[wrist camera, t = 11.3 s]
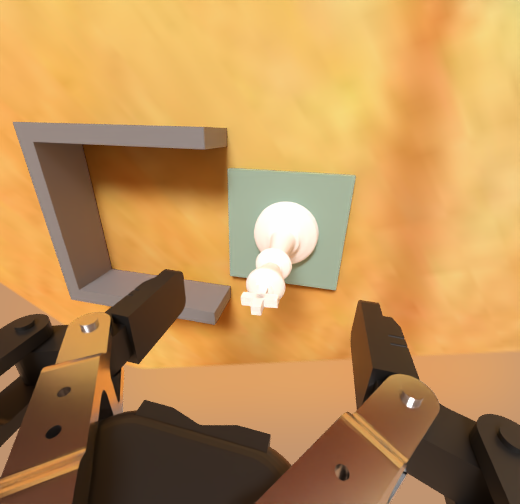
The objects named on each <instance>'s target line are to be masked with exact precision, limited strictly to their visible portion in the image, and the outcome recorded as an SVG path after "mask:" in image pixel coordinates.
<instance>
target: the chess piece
mask: <svg viewBox="0 0 520 504" xmlns="http://www.w3.org/2000/svg"><path fill="white" fill-rule="evenodd" d="M318 236H319V230H318V225H317V222H316V220H315V218H314V216H313V215H312V214H311V213H310V212H309V211H308V210H307V209H306V208H305V207H303V206H301V205H299V204H297V203H293V202H278V203H274V204H272V205H270V206H268V207H267V208H265V209H264V210H263V211H262V212H261V214H260V215H259V217H258V219H257V221H256V224H255V228H254V238H255V242H256V245H257V247H258V249H259V250H260V252H261V253H260V254H259V255H258V256H257V259H256V269H255V270H253V271H252V272H251V273H250V274H249V276H248V277H247V280H246V288H247V291H248V292H243V294H242V296H241V304H242V305H247V306H251V315H261V314H262V311H263V308H264V307H270V308H278V305H279V300H280V299H281V298H282V296H283V295H284V293H285V281H284V279H285V278H286V277H288V275H289V274H290V272H291V270H292V264H295V263H298V262H301V261H303V260H304V259H306V258H307V257H308V256H309V255H310V254H311V253H312V251H313V250H314V248H315V246H316V244H317V241H318Z"/></svg>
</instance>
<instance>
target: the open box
mask: <svg viewBox="0 0 520 504" xmlns="http://www.w3.org/2000/svg"><path fill="white" fill-rule="evenodd" d="M13 125H14V128H15V131H16V134H17V137H18V140H19V143H20V146H21V149H22V152H23V155H24V158H25V161H26V164H27V167H28V170H29V173H30V176H31V179H32V182H33V185H34V188H35V191H36V194H37V197H38V200H39V203H40V206H41V209H42V212H43V215H44V218H45V221H46V224H47V227H48V230H49V233H50V236H51V239H52V242H53V246H54V249H55V252H56V255H57V258H58V261H59V264H60V267H61V270H62V273H63V276H64V279H65V282H66V285H67V288H68V291H69V294H70V297H71V299H72V300H78V301H83V302H89V303H95V304H100V305H106V306H114V305H115V304H116V303H117V302H119V301H120V300H121V299H122V298H124V297H125V296H126V295H128V294H129V293H130V292H131V291H133V290H135V288H136V287H138V286H139V285H140V284H141V283H143V282H145V281H147V280H149V279H152V278H155V277H156V275H149V274H143V273H136V272H129V271H122V270H115V269H112V267H111V263H110V259H109V255H108V251H107V246H106V242H105V238H104V234H103V230H102V225H101V221H100V217H99V213H98V209H97V205H96V200H95V196H94V192H93V188H92V184H91V179H90V175H89V171H88V167H87V163H86V158H85V154H84V150H83V146H82V144H93V145H116V146H139V147H161V148H184V149H212V148H219V147H227V128H211V127H181V126H144V125H107V124H70V123H33V122H13ZM184 286H185V296H186V303H185V307H184V309H183V311H182V313H181V314H180V315H179V316H178V317H177V318H179V319H185V320H191V321H196V322H202V323H207V324H213V325H215V324H216V322H217V321H218V319H219V317H220V315H221V314H222V312H223V310H224V308H225V307H226V305H227V303H228V301H229V299H230V298H231V286H225V285H218V284H211V283H204V282H197V281H190V280H184Z"/></svg>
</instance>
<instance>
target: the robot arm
mask: <svg viewBox="0 0 520 504" xmlns="http://www.w3.org/2000/svg"><path fill="white" fill-rule="evenodd" d="M185 303H186V296H185V286H184V277H183V273H182V272H180V271H174V270H168V269H165V270H163V271H162V272H161V273H160V274H159V275H157V276H156V277H155V278H152V279H149V280H147V281H145V282H143V283H141V284H140V285H139V286H138V287H136V288H135V290H133V291H131V292H130V293H129V294H128V295H126V296H125V297H124V298H122V299H121V300H120V301H119V302H117V303H116V304H115V305H114V306H112V307H111V308H110V309H109V310H107V311H106V312H105V313H103V312H95V313H90V314H86V315H83V316H81V317H79V318H77V319H76V320H74V321H73V322H72V323H70V325H58V326H52V325H51V323H50V320H49V317H48V316H47V315H44V314H34V315H28V316H25V317H22V318H19V319H17V320H15V321H13V322H11V323H9V324H7V325H6V326H4V327H3V328H1V329H0V376H1V375H2V374H3V373H5V372H6V371H7V370H9V369H10V368H11V367H12V366H14V365H15V366H16V368H17V370H18V372H19V374H20V377H18V378H17V379H16V380H15V381H14V382H12V383H11V384H10V385H9V386H8V387H6V388H5V389H4V390H3V391H2V392H0V447H1V445H3V444H4V443H5V442H6V440H8V439H9V438H10V437H11V436H12V435H13V433H14V432H16V431H17V429H19V431H18V434H17V436H16V439H15V442H14V444H13V447H12V449H11V452H10V455H9V457H8V460H7V462H6V465H5V468H4V470H3V473H2V476H1V477H0V504H390V503H391V502H392V500H393V498H394V496H395V495H396V493H397V492H398V490H399V488H400V487H401V485H402V483H403V482H404V480H405V479H406V477H407V475H408V474H410V475H412V476H413V477H415V478H416V479H418V480H420V481H421V482H423V483H425V484H426V485H428V486H430V487H431V488H433V489H434V490H436V491H438V492H439V493H441V494H443V495H444V497H445V500H446V504H520V425H518V424H517V423H515V422H513V421H511V420H509V419H507V418H505V417H502V416H498V415H493V414H485V415H482V416H480V417H479V419H478V420H477V422H475V421H473V420H471V419H469V418H467V417H465V416H463V415H460V414H458V413H456V412H454V411H451V410H450V409H448V408H446V407H444V406H443V405H441V404H440V403H439V401H438V399H437V397H436V395H435V394H434V393H433V391H432V390H431V389H430V388H429V387H428V386H427V385H426V384H424V383H423V382H421V381H420V380H419V377H418V374H417V371H416V369H415V366H414V363H413V360H412V357H411V355H410V352H409V349H408V348H407V344H406V341H405V339H404V335H403V333H402V330H401V327H400V326H399V325H398V324H397V323H396V322H395V321H394V320H393V319H392V318H391V317H385V316H383V315H382V312H381V308H380V305H379V303H375V302H369V301H362V300H359V301H358V304H357V309H356V313H355V318H354V322H353V326H352V331H351V353H352V363H353V373H354V384H355V394H356V404H357V411H356V412H355V413H354V414H350V413H349V412H346V413H344V414H343V415H342V416H340V417H339V418H338V420H336V421H335V423H334V424H333V425H332V426H331V427H330V428H329V429H328V430H327V431H326V432H325V433H324V434H323V435H322V436H321V437H320V438H319V439H318V440H317V441H316V442H315V443H314V444H313V445H312V446H311V447H310V448H309V449H308V450H307V451H306V452H305V453H304V454H303V455H302V456H301V457H300V458H299V459H298V460H297V461H296V462H295V463H294V464H293V465H292V466H291V464H290V463H289V462H288V461H287V460H286V459H285V458H284V457H283V456H282V455H280V454H279V453H278V452H277V451H275V450H274V449H272V448H271V447H270V434H267V433H263V432H260V431H256V430H252V429H249V428H245V427H241V426H238V425H199V424H197V423H196V422H194V421H193V420H191V419H190V418H188V417H186V416H185V415H183V414H182V413H180V412H179V411H177V410H176V409H174V408H172V407H168V406H165V405H161V404H158V403H154V402H150V401H147V400H144V401H143V403H142V404H141V406H140V407H139V409H138V410H137V411H128V412H123V387H124V368H123V365H124V364H125V363H126V362H127V361H128V362H132V363H136V364H139V363H140V362H141V361H142V359H143V358H144V357H145V356H146V355H147V353H148V352H149V351H150V350H151V349H152V347H153V346H154V345H155V344H156V343H157V341H158V340H159V339H160V338H161V337H162V335H163V334H164V333H165V332H166V331H167V329H168V328H169V327H170V326H171V325H172V323H173V322H174V321H175V320H176V319H177V317H178V316H179V315H180V314H181V313H182V311H183V309H184V307H185Z"/></svg>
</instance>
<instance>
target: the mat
mask: <svg viewBox="0 0 520 504" xmlns="http://www.w3.org/2000/svg"><path fill="white" fill-rule="evenodd" d="M355 177H356V176H355V175H344V174H327V173H310V172H292V171H275V170H257V169H240V168H229V169H228V207H229V248H230V276H236V277H243V278H247V277H248V276H249V274H250V273H251V272H252V271H253V270H255V269H256V259H257V256H258V255H259V254H260V253H261V252H260V250H259V249H258V247H257V245H256V242H255V238H254V228H255V224H256V221H257V219H258V217H259V215H260V214H261V212H262V211H263V210H264V209H265V208H267V207H268V206H270V205H272V204H274V203H278V202H293V203H297V204H299V205H301V206H303V207H305V208H306V209H307V210H308V211H309V212H310V213H311V214H312V215H313V216H314V218H315V220H316V222H317V225H318V230H319V236H318V241H317V244H316V246H315V248H314V250H313V251H312V253H311V254H310V255H309V256H308V257H307V258H306V259H304V260H303V261H301V262H298V263H295V264H292V270H291V272H290V274H289V275H288V277H286V278H285V279H284V281H285V283H287V284H294V285H301V286H308V287H316V288H323V289H330V290H336V286H337V281H338V275H339V269H340V263H341V258H342V252H343V246H344V240H345V235H346V229H347V223H348V217H349V212H350V206H351V200H352V195H353V189H354V183H355Z"/></svg>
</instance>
